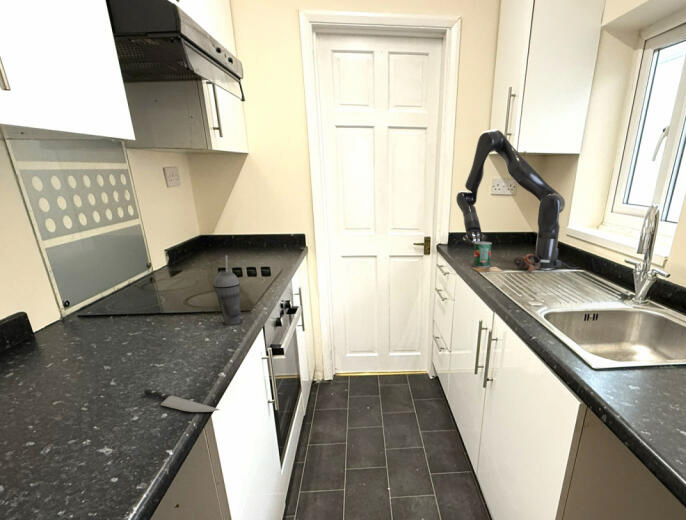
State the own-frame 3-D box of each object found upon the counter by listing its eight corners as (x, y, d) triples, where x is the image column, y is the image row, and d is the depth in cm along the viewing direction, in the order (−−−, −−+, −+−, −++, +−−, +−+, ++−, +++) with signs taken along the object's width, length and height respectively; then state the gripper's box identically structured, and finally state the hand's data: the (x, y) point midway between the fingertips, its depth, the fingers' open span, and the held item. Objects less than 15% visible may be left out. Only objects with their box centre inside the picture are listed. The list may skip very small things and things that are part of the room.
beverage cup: (220, 319, 126) (208, 254, 118) (245, 317, 128) (235, 252, 120) (219, 327, 119) (207, 258, 112) (245, 324, 122) (235, 257, 114)
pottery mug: (533, 268, 196) (541, 254, 190) (535, 281, 190) (544, 267, 184) (509, 262, 195) (517, 248, 188) (510, 274, 188) (519, 261, 182)
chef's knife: (208, 419, 75) (220, 410, 77) (207, 414, 74) (219, 405, 77) (134, 399, 81) (148, 391, 84) (133, 394, 81) (146, 386, 83)
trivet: (496, 267, 197) (496, 266, 197) (503, 271, 188) (503, 270, 188) (472, 267, 195) (472, 267, 195) (478, 272, 187) (478, 271, 187)
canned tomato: (493, 266, 198) (495, 243, 194) (480, 268, 194) (482, 244, 190) (482, 263, 204) (484, 241, 200) (470, 265, 200) (471, 242, 196)
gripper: (461, 219, 205) (467, 248, 198) (486, 218, 207) (493, 247, 200) (457, 228, 212) (463, 257, 205) (482, 228, 214) (488, 256, 207)
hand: (478, 252), depth 203 cm, fingers closed
